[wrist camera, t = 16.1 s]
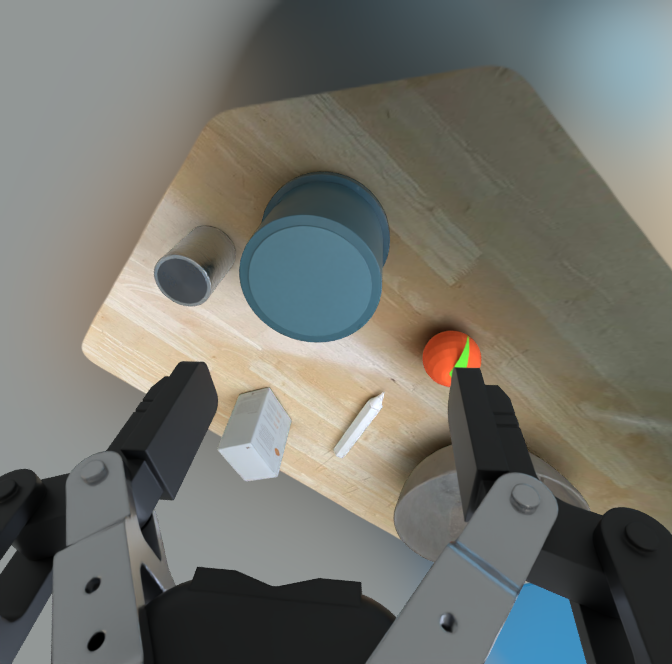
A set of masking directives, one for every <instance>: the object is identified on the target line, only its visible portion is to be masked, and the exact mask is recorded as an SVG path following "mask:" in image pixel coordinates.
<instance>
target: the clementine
mask: <svg viewBox="0 0 672 664" xmlns="http://www.w3.org/2000/svg"><path fill="white" fill-rule="evenodd" d="M423 365H424V368H425V370H426V372H427V374H428V375H429V376H430V377H431V378H432V379H433V380H434V381H435V382H437V383H438V384H441V385H444V386H447V387H450V386H451V378H452V372H453V368H454V367H464V368H480V366H481V353H480V350H479V347H478V346H477V344H476V343H475V341H474V340H473V339H472V338H470V337H469V336H468V335H466V334H465V333H462V332H459V331H445V332H441V333H439V334H437V335H435V336H433V337H432V338H431V339H430V340H429V342H428V343H427V345H426V346H425V348H424V352H423Z"/></svg>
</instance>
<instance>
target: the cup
mask: <svg viewBox="0 0 672 664" xmlns="http://www.w3.org/2000/svg"><path fill="white" fill-rule="evenodd" d="M235 257H236V252H235V248H234V245H233V243H232V241H231V240H230V238H229V237H228V236H227V235H226V234H225V233H224V232H222V231H221V230H219V229H217V228H215V227H211V226H200V227H197V228H195V229H193V230H192V231H191V232H190V233H189V234H188V235H186V236H185V237H184V238H183V239H182V240H181V241H180V242H179V243H178V244H176V245H175V246H174V247H173V248H172V249H171V250H170V251H169V252H168V253H167V254H165V255H164V256H163V257H162V258H161V259H160V260H159V261H158V262H157V264H156V266H155V269H154V277H155V281H156V284H157V286H158V287H159V289H160V290H161V292H162V293H163V294H164V295H165V296H166V297H168V298H169V299H170V300H172V301H173V302H175V303H178V304H180V305H184V306H197V305H200V304H202V303H204V302H205V301H206V300H207V299H208V298H209V297H210V295H211V294H212V293H213V291H214V290H215V289H216V287H217V286H218V284H219V283H220V282H221V280H222V279H223V278H224V276H225V275H226V274H227V272H228V271H229V269H230V268H231V267H232V265H233V264H234V262H235Z"/></svg>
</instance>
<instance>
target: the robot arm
mask: <svg viewBox="0 0 672 664" xmlns="http://www.w3.org/2000/svg"><path fill="white" fill-rule="evenodd" d="M217 406H218V396H217V392H216V389H215V387H214V384H213V381H212V378H211V375H210V372H209V369H208V367H207V365H206V363H205V362H189V361H182V362H180V363H178V365H177V366H176V367H175V369H174V370H173V372H172V373H171V375H170V376H165V377H164V378H162V379H161V380H160V381H159V382H157V383H156V384H155V385H153V386H152V387H151V388H150V390H149V391H148V393H147V394H146V396H145V397H144V398H143V402H141V403H140V404H139V405H138V407H137V408H136V412H133V414H132V415H131V417H130V418H129V420H128V421H127V422H126V424H125V425H124V427H123V428H122V429H121V431H120V432H119V434H118V435H117V437H116V438H115V439H114V441H113V442H112V443H111V445H110V446H109V448H108V449H107V450H106V451H103V452H99V453H96V454H93V455H91V456H89V457H88V458H86V459H84V460H83V461H81V462H80V463H79V464H78V465H77V466H76V467H75V468H74V469H73V470H72V471H71V473H68V474H64V475H59V476H55V477H51V478H46V479H42V480H40V478H39V477H38V476H37V475H36V474H35V473H34V472H33V471H32V470H28V469H19V470H15V471H12V472H9V473H7V474H4V475H3V476H1V477H0V560H1V559H2V557H3V556H4V555H5V553H6V551H7V550H8V549H9V547H10V546H11V545H12V546H13V547H14V548H16V549H17V551H16V552H15V554H14V555H13V557H12V559H11V560H10V561H9V563H8V564H7V565H6V567H5V568H4V570H3V571H2V573H1V574H0V664H12V662H13V660H14V658H15V656H16V655H17V653H18V651H19V650H20V648H21V646H22V644H23V643H24V641H25V639H26V637H27V636H28V634H29V632H30V630H31V629H32V627H33V625H34V623H35V622H36V620H37V618H38V616H39V615H40V613H41V611H42V609H43V608H44V606H45V604H46V602H47V601H48V599H49V597H50V595H51V594H52V595H53V596H52V645H51V648H52V649H51V664H484V663H485V661H486V659H487V657H488V655H489V653H490V651H491V649H492V646H493V645H494V643H495V641H496V639H497V637H498V635H499V633H500V631H501V629H502V627H503V625H504V623H505V621H506V619H507V617H508V615H509V613H510V611H511V609H512V607H513V605H514V603H515V601H516V599H517V597H518V595H519V593H520V591H521V589H522V587H523V585H524V583H525V581H527V582H530V583H532V584H534V585H537V586H539V587H541V588H544V589H546V590H548V591H551V592H553V593H556V594H558V595H560V596H563V597H565V598H568V599H569V601H570V604H571V608H572V612H573V615H574V619H575V623H576V626H577V630H578V634H579V637H580V641H581V645H582V648H583V652H584V656H585V659H586V663H587V664H672V535H671V533H670V532H669V531H668V530H667V529H666V528H665V527H664V526H663V525H662V524H660V523H659V522H658V521H657V520H655V519H654V518H652V517H650V516H649V515H647V514H645V513H643V512H640V511H638V510H635V509H631V508H625V507H618V508H613V509H610V510H608V511H607V512H606V513H605V514H604V515H600V514H597V513H594V512H591V511H588V510H585V509H582V508H579V507H576V506H573V505H571V504H568V503H566V502H564V501H562V500H560V499H559V498H557V497H556V496H554V494H553V493H552V492H551V490H550V489H549V488H548V487H547V486H546V485H545V484H544V483H542V482H541V481H540V480H539V478H538V477H537V474H536V472H535V469H534V466H533V463H532V460H531V458H530V455H529V452H528V449H527V446H526V443H525V440H524V438H523V435H522V432H521V429H520V428H519V423H518V420H517V417H516V416H515V412H514V409H513V406H512V403H511V400H510V398H509V397H508V396H507V395H506V394H505V392H504V391H503V390H502V389H501V388H500V387H499V386H498V385H485V384H484V380H483V377H482V373H481V370H480V368H464V367H454V368H453V372H452V378H451V386H450V393H449V400H448V422H449V428H450V434H451V441H452V447H453V453H454V459H455V466H456V472H457V478H458V484H459V490H460V497H461V503H462V509H463V515H464V522H468V523H467V525H466V526H465V528H464V529H463V531H462V532H461V534H460V535H459V536H458V538H457V539H456V540H455V541H454V542H453V541H451V542H450V543H448V544H447V546H446V547H445V548H444V549H443V551H442V552H441V553H440V555H439V556H438V558H437V559H436V561H435V562H434V564H433V565H432V567H431V568H430V570H429V571H428V572H427V574H426V575H425V577H424V578H423V580H422V581H421V583H420V584H419V586H418V587H417V589H416V590H415V592H414V593H413V595H412V596H411V597H410V599H409V600H408V602H407V603H406V605H405V606H404V608H403V609H402V611H401V612H400V613H399V615H398V616H397V618H396V617H395V616H394V615H393V614H392V613H391V612H390V611H389V610H388V609H387V608H385V607H384V606H383V605H381V604H380V603H378V602H376V601H375V600H373V599H372V598H369V597H367V596H365V595H362V587H361V582H355V581H344V580H332V579H322V578H318V579H312V580H307V581H302V582H297V583H292V584H287V585H282V586H270V585H268V584H266V583H264V582H261V581H259V580H257V579H254V578H252V577H250V576H247V575H245V574H243V573H241V572H238V571H236V570H226V569H215V568H204V567H197V569H196V571H195V574H194V577H193V579H192V580H190V581H187V582H184V583H181V584H179V585H177V586H176V585H175V583H174V580H173V578H172V576H171V573H170V571H169V568H168V564H167V560H166V555H165V550H164V546H163V542H162V537H161V532H160V527H159V522H158V518H157V514H156V511H155V510H154V508H155V506H156V504H157V502H158V500H159V499H161V500H174V499H175V497H176V494H177V492H178V490H179V488H180V486H181V484H182V482H183V480H184V478H185V476H186V474H187V471H188V469H189V467H190V465H191V463H192V461H193V459H194V457H195V455H196V453H197V451H198V449H199V447H200V444H201V442H202V440H203V438H204V436H205V434H206V432H207V430H208V428H209V426H210V424H211V422H212V420H213V417H214V415H215V413H216V410H217Z"/></svg>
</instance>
